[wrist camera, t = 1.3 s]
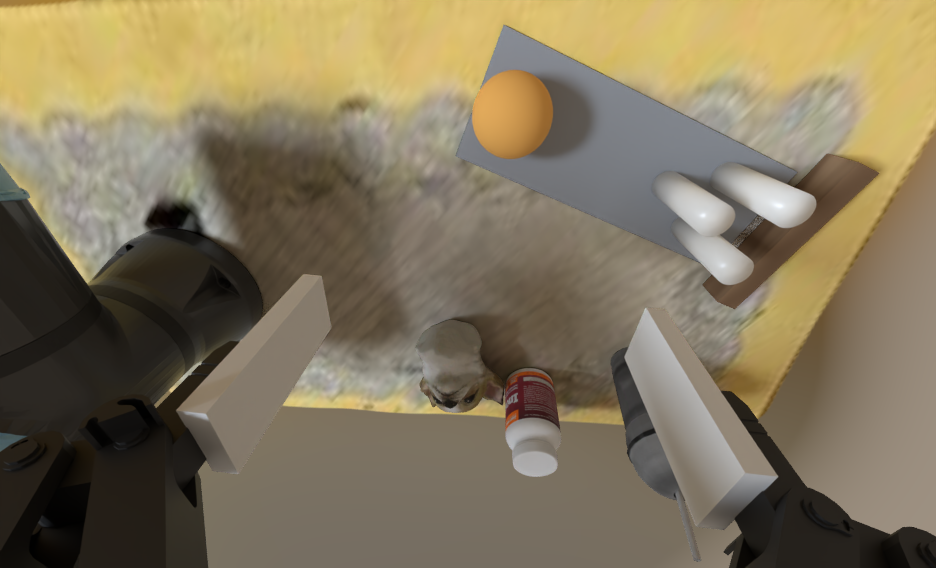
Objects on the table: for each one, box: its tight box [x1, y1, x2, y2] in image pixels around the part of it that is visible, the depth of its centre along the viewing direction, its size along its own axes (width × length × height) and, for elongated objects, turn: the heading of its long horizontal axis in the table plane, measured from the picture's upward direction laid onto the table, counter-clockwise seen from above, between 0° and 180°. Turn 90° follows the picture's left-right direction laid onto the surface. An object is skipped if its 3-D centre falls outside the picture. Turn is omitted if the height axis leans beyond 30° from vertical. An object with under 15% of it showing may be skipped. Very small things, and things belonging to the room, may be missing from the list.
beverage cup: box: [611, 347, 701, 562], centre depth 33 cm, size 7×7×20 cm
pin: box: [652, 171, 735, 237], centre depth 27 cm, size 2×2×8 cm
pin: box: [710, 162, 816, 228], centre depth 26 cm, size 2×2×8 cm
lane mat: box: [456, 25, 797, 263], centre depth 30 cm, size 27×10×1 cm, turn 68°
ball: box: [472, 70, 553, 159], centre depth 26 cm, size 6×6×6 cm
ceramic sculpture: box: [415, 320, 504, 413], centre depth 40 cm, size 11×9×15 cm
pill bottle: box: [505, 368, 561, 477], centre depth 41 cm, size 6×6×11 cm
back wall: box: [703, 154, 879, 309], centre depth 31 cm, size 2×14×3 cm, turn 158°
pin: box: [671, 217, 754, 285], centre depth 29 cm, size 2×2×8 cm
